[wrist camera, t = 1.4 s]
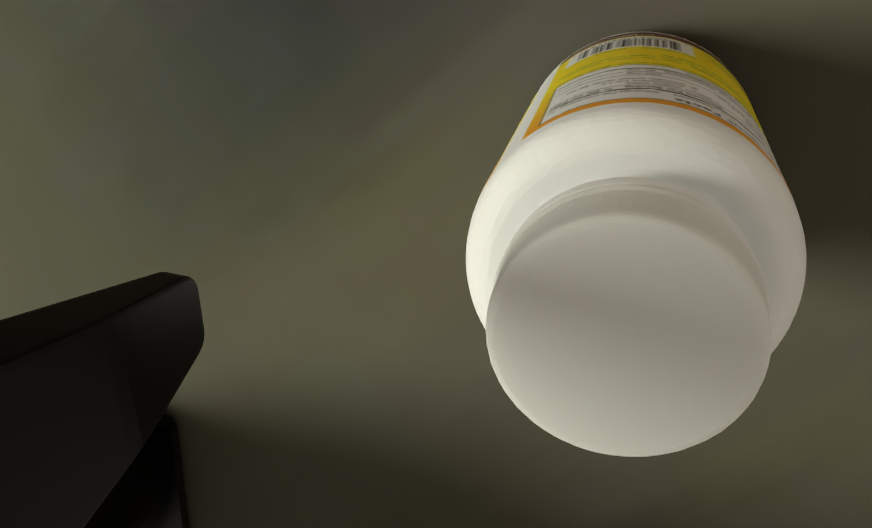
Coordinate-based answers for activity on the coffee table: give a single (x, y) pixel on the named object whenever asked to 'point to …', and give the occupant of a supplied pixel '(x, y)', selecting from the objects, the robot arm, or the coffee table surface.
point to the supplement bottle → (636, 250)
